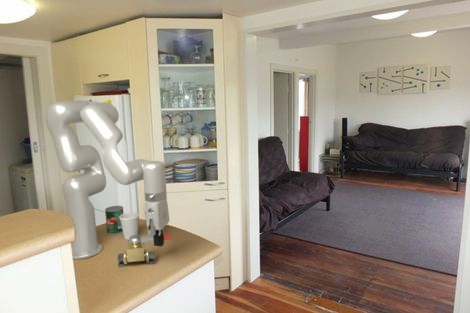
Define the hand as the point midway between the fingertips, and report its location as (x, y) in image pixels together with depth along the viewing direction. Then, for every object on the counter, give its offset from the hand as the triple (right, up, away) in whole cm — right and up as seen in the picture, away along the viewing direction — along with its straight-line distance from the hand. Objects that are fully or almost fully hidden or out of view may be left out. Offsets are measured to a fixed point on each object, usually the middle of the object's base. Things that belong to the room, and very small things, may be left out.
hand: (159, 245), depth 122 cm
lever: (-4, +1, +3) cm, 5 cm away
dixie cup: (-19, -4, +27) cm, 33 cm away
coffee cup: (-8, -3, +28) cm, 29 cm away
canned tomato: (-28, -3, +35) cm, 45 cm away
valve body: (-9, -7, +3) cm, 12 cm away
